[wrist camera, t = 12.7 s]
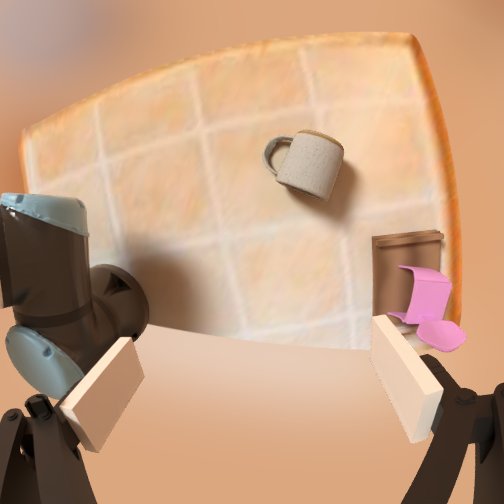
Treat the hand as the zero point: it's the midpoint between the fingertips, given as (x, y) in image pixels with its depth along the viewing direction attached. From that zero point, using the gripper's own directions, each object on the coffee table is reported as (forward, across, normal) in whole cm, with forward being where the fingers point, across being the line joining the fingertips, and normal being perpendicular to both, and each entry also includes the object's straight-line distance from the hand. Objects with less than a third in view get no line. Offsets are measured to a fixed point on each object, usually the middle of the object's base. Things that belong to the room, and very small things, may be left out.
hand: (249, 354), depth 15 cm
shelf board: (+31, +23, -9) cm, 39 cm away
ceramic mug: (+31, +7, +11) cm, 34 cm away
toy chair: (+29, +23, -10) cm, 38 cm away
